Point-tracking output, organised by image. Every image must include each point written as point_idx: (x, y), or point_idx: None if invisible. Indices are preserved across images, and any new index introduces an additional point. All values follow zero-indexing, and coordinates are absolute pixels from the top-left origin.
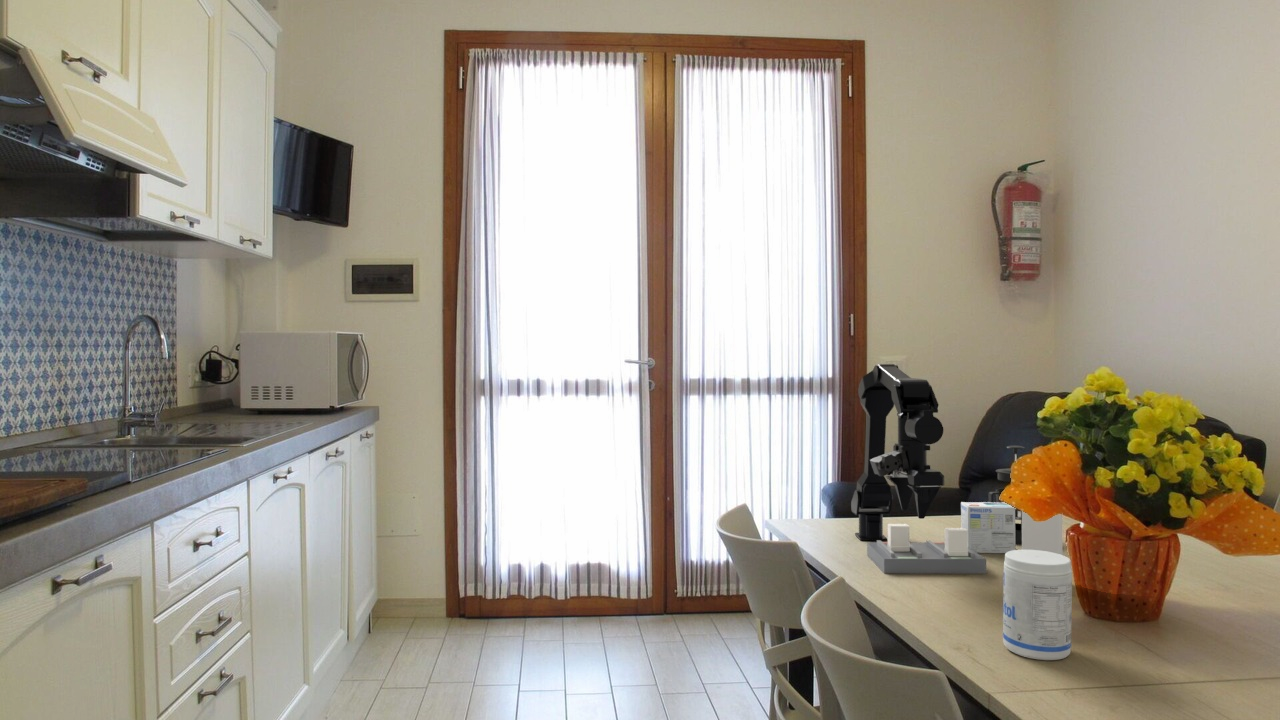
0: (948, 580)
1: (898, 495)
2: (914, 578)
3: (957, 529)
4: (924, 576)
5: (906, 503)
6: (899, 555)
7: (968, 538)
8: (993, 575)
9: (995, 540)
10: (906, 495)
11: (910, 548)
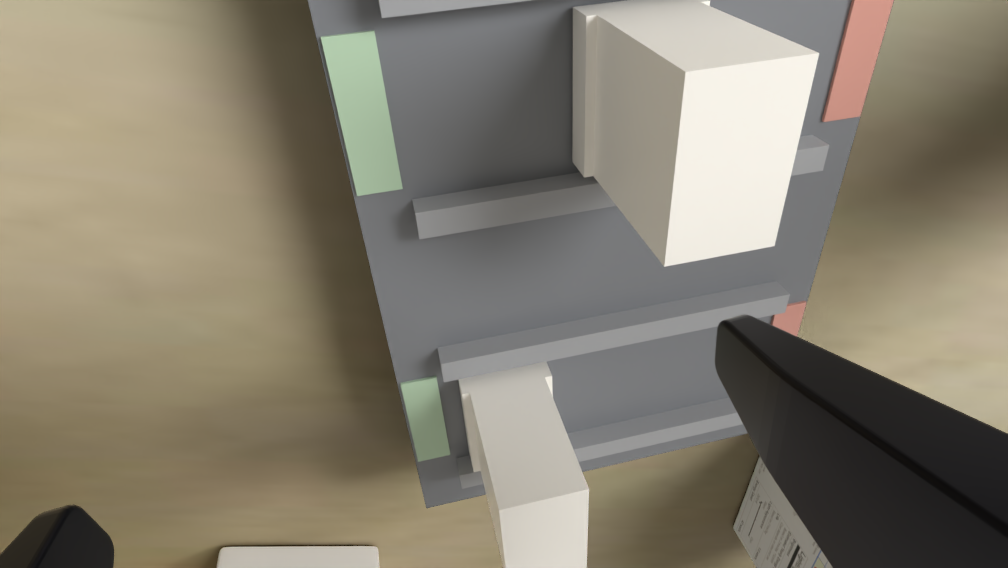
0: (225, 299)
1: (954, 445)
2: (201, 107)
3: (533, 547)
4: (282, 179)
5: (769, 436)
6: (448, 63)
7: None
8: (393, 468)
9: (777, 527)
10: (878, 550)
11: None
